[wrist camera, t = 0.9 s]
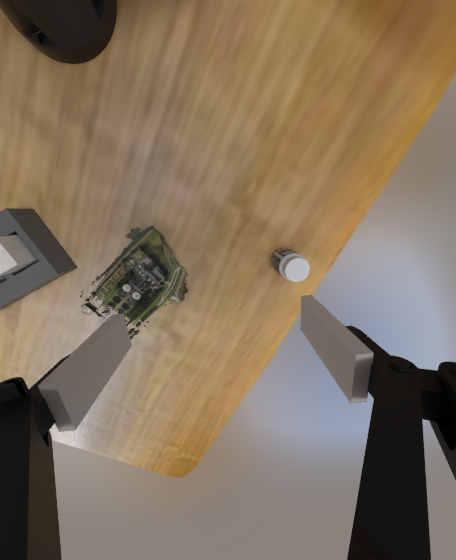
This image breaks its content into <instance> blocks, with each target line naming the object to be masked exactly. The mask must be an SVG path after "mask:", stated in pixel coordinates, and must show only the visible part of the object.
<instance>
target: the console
mask: <svg viewBox="0 0 456 560" xmlns="http://www.w3.org/2000/svg"><path fill="white" fill-rule="evenodd" d="M11 235H19V236H20V237H21V239H22V240H23V241H24V242H25V244H26V245H27V246H28V247H29V249H30V250H31V251H32V252H33V254H34V255H35V256H36V257H37V259H38V260H37V261H35V262H33V263H31V264H30V265H28V266H26V267H24V268H23V269H21V270H19V271H17V272H13V273H9V274H6V275H4V276H5V279H3V280H1V281H0V310H1V309H3V308H5V307H7V306H9V305H10V304H12V303H14V302H16V301H18V300H19V299H21V298H23V297H25V296H27V295H28V294H30V293H32V292H34V291H36V290H37V289H39V288H41V287H43V286H45V285H47V284H48V283H50V282H52V281H54V280H56V279H57V278H59V277H61V276H63V275H65V274H66V273H68V272H70V271H72V270H74V269H75V268H77V266H76V265H75V264H74V262H73V261H72V260H71V258H70V257H69V256H68V254H67V253H66V252H65V250H64V249H63V248H62V246H61V245H60V244H59V242H58V241H57V240H56V238H55V237H54V236H53V234H52V233H51V232H50V230H49V229H48V228H47V226H46V225H45V224H44V222H43V221H42V220H41V218H40V217H39V216H38V214H37V213H36V212H35V210H34V209H7V208H6V209H4V210H3V211H1V212H0V237H1V236H11Z"/></svg>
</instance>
